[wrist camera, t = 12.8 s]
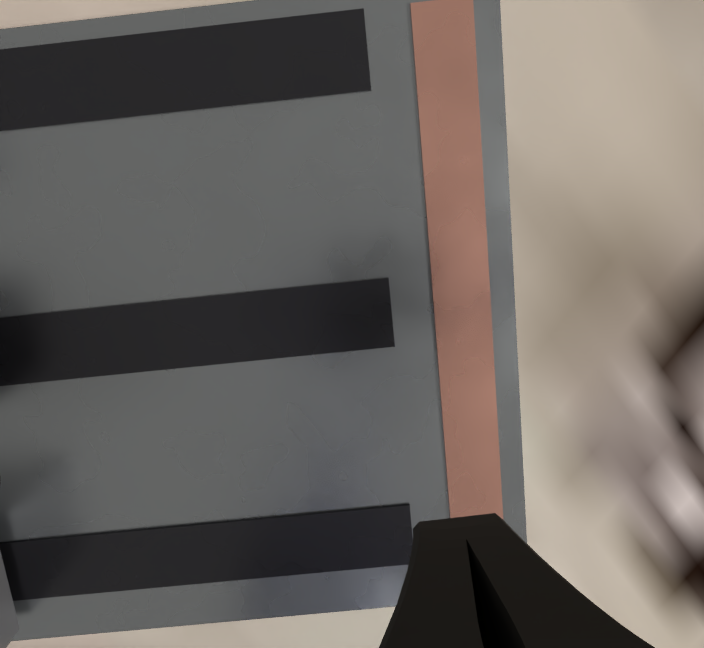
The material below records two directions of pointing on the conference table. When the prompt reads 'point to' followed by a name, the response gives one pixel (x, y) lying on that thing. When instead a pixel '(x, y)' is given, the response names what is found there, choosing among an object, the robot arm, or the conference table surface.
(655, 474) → the conference table surface
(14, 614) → the breaker
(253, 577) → the panel
